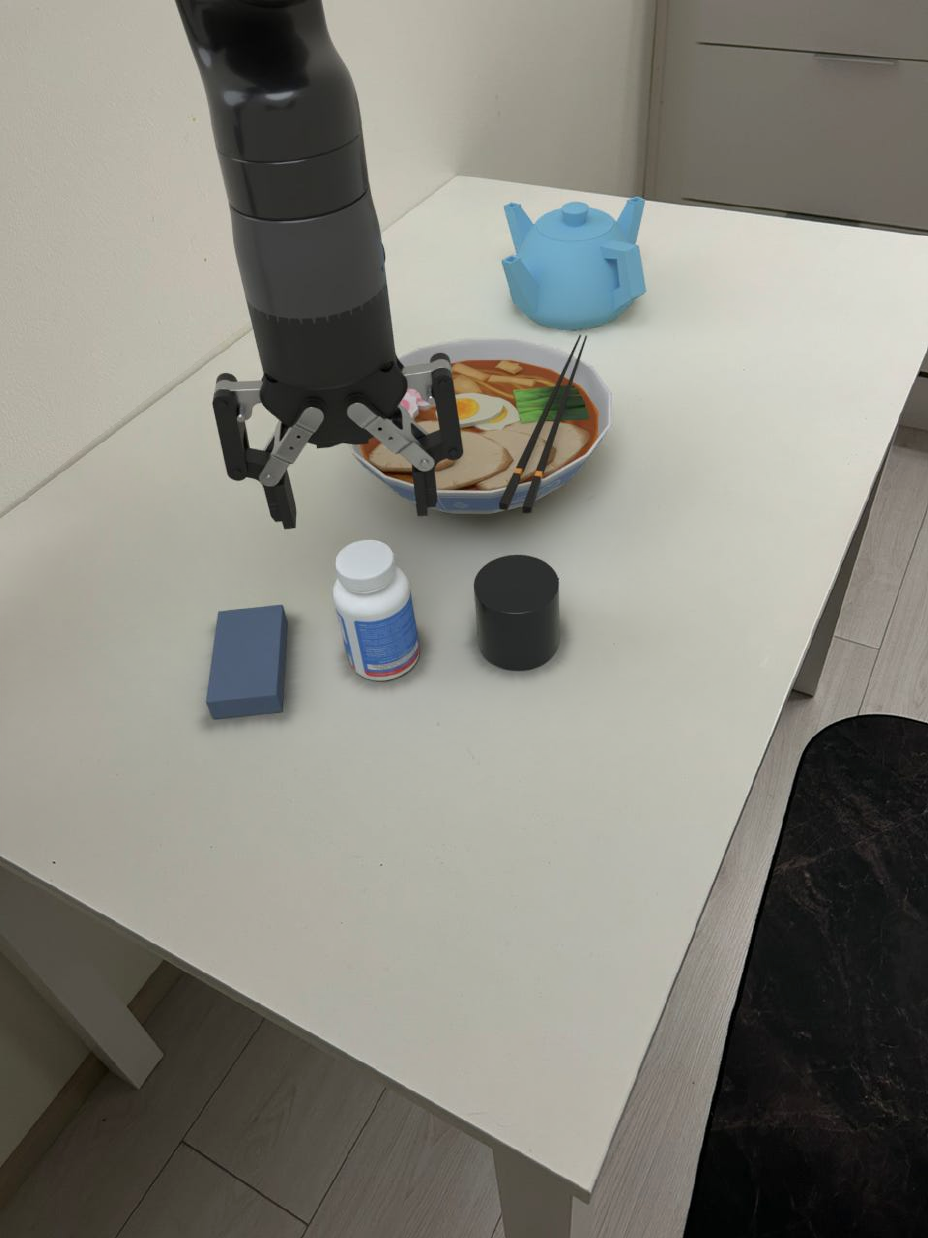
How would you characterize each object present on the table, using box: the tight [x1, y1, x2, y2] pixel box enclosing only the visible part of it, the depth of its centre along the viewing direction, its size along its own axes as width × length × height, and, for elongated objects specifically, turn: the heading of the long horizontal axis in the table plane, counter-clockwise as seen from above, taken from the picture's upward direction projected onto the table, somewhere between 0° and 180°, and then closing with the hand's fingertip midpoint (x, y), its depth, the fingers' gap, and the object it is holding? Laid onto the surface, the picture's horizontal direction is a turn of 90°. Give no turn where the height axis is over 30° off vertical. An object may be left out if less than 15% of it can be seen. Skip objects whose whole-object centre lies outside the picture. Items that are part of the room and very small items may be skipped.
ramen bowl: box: [348, 334, 613, 515], centre depth 84 cm, size 25×23×8 cm
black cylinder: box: [473, 554, 560, 672], centre depth 70 cm, size 6×6×6 cm
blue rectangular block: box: [205, 604, 289, 720], centre depth 72 cm, size 9×5×2 cm, turn 5°
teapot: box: [501, 196, 647, 331], centre depth 103 cm, size 15×15×11 cm
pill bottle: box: [332, 539, 421, 682], centre depth 69 cm, size 6×5×10 cm
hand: (357, 514), depth 63 cm, fingers open, 8 cm apart
